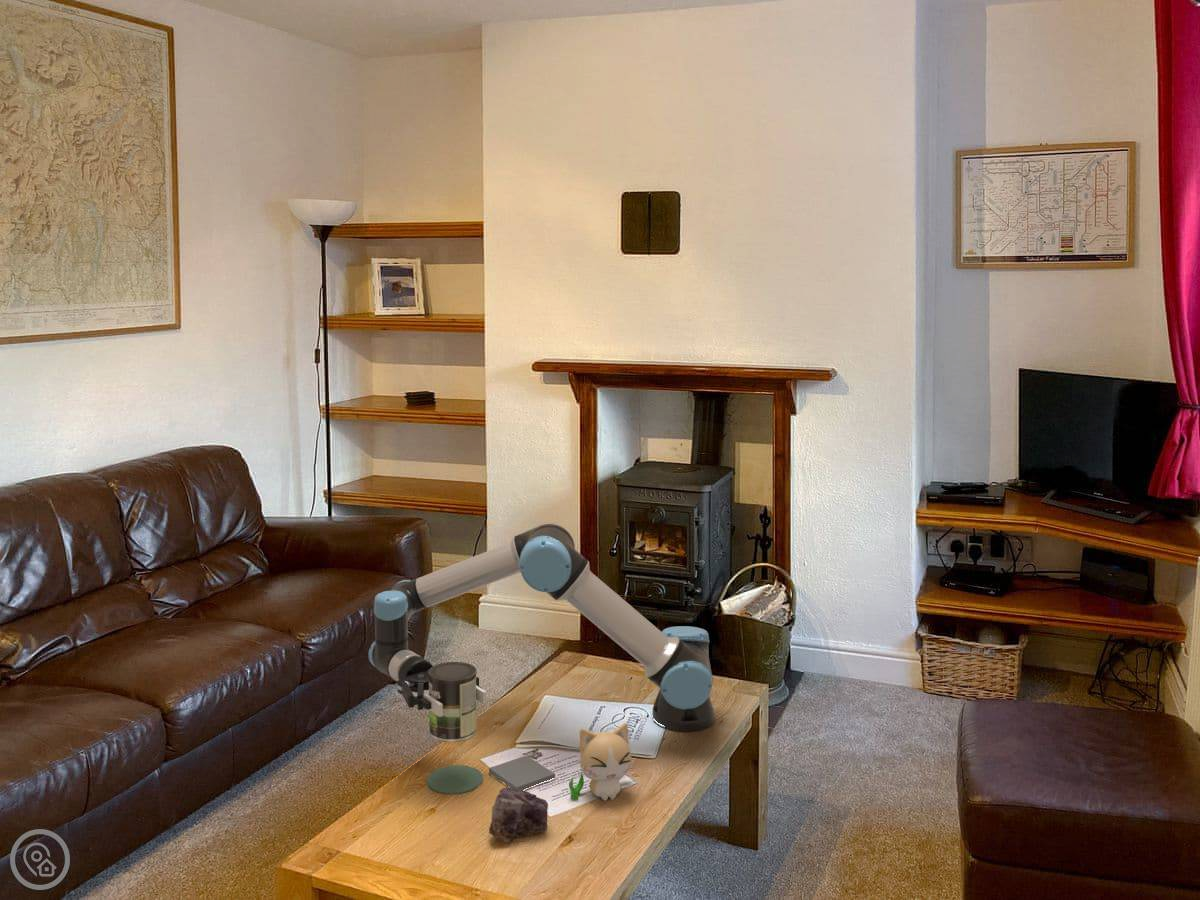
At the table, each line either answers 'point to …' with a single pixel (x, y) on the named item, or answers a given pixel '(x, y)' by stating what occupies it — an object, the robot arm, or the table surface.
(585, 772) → the kitten
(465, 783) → the coaster
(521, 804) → the rock
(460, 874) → the table surface
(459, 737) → the coffee can
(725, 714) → the table surface
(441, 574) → the robot arm
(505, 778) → the slate tile
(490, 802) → the table surface
